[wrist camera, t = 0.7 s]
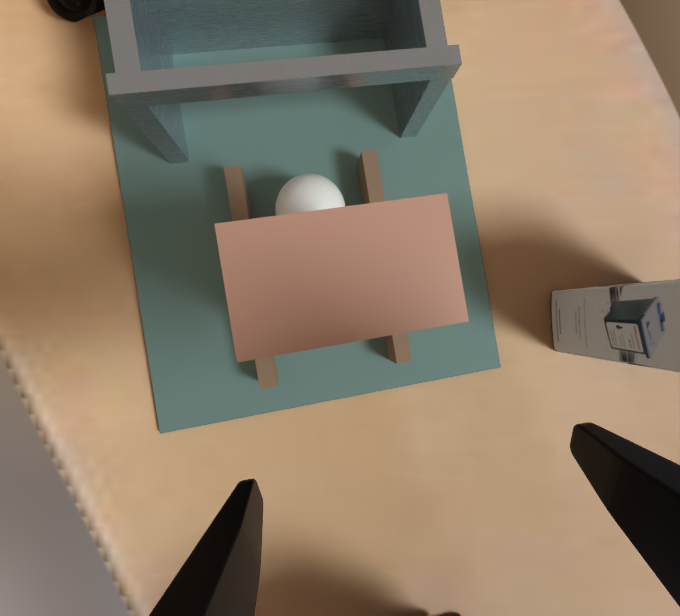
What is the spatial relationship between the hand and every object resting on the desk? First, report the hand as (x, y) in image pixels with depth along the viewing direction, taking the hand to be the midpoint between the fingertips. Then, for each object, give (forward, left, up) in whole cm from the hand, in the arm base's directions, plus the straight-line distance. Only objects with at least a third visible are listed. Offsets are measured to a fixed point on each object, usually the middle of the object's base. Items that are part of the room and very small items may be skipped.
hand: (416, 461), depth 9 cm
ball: (+11, +1, -12) cm, 16 cm away
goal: (+21, +1, -14) cm, 25 cm away
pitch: (+13, +1, -14) cm, 19 cm away
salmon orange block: (+6, +1, -14) cm, 15 cm away
